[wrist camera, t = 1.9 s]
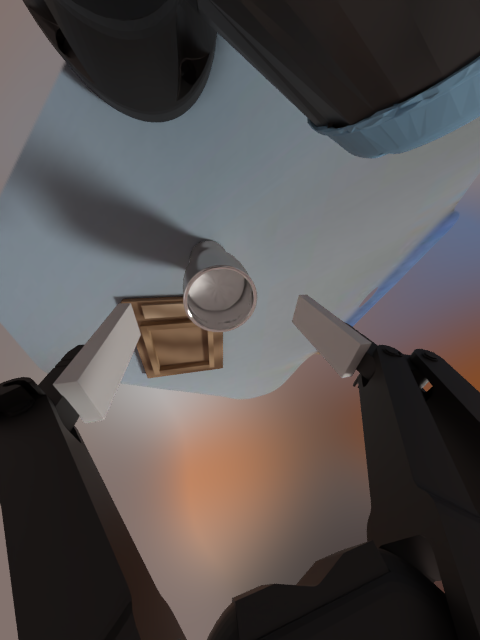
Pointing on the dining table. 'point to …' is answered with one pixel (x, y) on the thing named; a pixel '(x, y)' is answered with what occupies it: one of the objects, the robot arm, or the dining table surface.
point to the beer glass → (217, 289)
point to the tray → (173, 338)
